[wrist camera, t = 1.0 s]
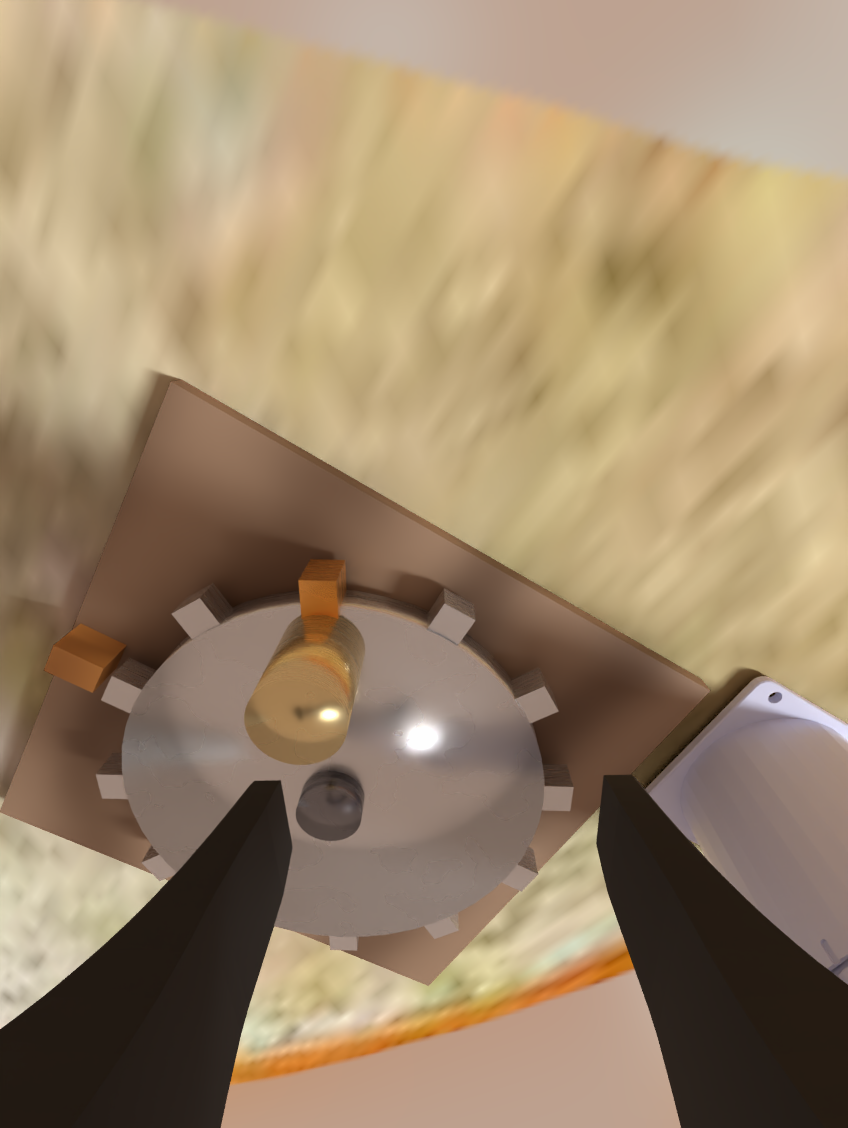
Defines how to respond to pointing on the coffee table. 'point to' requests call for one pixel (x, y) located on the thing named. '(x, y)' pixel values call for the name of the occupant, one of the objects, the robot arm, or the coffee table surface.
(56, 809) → the walnut board
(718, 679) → the coffee table surface
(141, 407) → the coffee table surface
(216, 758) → the sprocket wheel
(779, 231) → the coffee table surface
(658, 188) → the coffee table surface
